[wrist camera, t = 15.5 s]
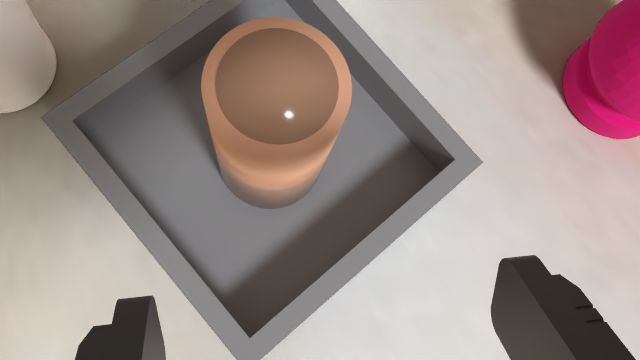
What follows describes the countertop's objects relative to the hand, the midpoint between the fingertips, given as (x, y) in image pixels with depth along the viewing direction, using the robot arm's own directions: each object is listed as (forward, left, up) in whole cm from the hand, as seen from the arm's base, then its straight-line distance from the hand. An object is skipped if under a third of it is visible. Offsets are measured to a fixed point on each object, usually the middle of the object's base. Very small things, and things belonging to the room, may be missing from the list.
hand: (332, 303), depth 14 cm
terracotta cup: (-4, -7, -16) cm, 18 cm away
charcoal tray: (-4, -7, -17) cm, 19 cm away
